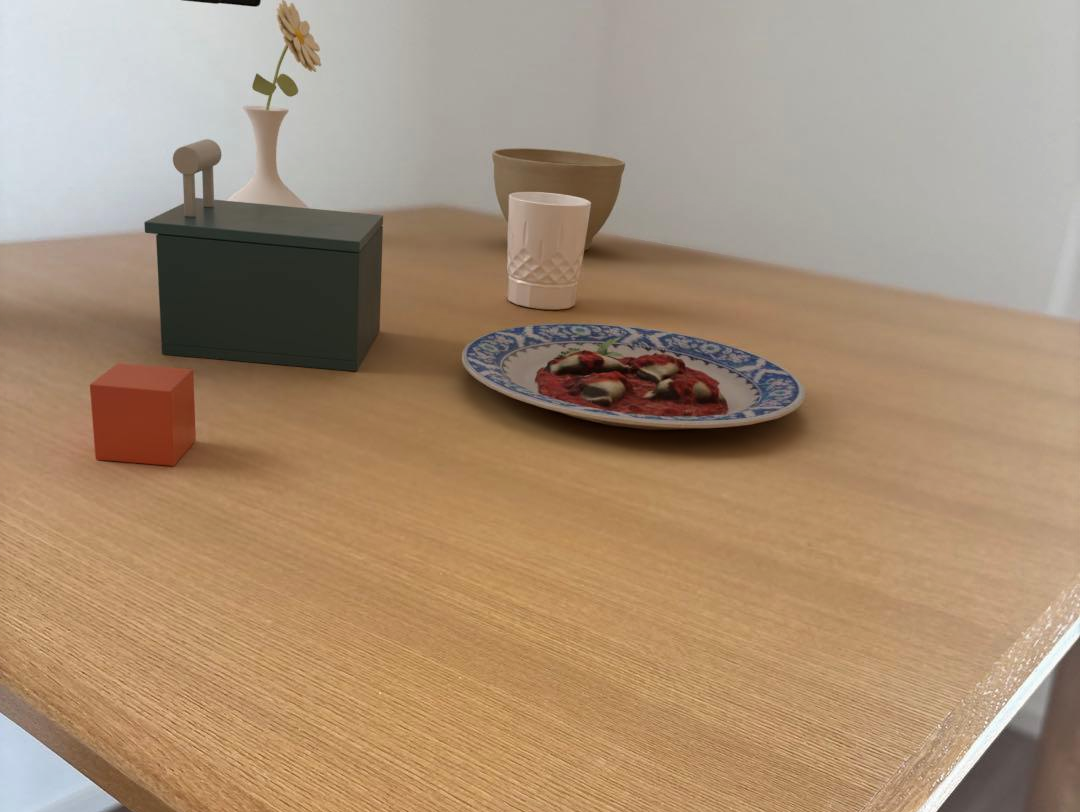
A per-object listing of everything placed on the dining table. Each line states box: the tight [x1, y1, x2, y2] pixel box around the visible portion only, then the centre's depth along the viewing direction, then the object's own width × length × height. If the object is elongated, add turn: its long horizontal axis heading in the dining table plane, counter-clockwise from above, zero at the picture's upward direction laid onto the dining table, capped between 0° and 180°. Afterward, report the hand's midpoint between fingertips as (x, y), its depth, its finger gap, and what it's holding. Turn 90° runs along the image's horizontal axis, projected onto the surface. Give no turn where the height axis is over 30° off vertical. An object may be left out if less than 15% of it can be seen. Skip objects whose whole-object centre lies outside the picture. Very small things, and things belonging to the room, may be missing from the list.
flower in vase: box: [225, 0, 322, 208], centre depth 128 cm, size 13×11×25 cm
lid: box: [143, 138, 384, 252], centre depth 86 cm, size 15×13×6 cm
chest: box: [155, 225, 384, 372], centre depth 89 cm, size 15×13×9 cm
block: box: [89, 362, 197, 467], centre depth 66 cm, size 4×4×4 cm
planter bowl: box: [491, 147, 626, 252], centre depth 139 cm, size 16×16×11 cm
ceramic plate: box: [461, 323, 807, 431], centre depth 85 cm, size 26×26×3 cm
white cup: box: [506, 192, 591, 311], centre depth 110 cm, size 8×8×10 cm
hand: (218, 3), depth 77 cm, fingers open, 9 cm apart
